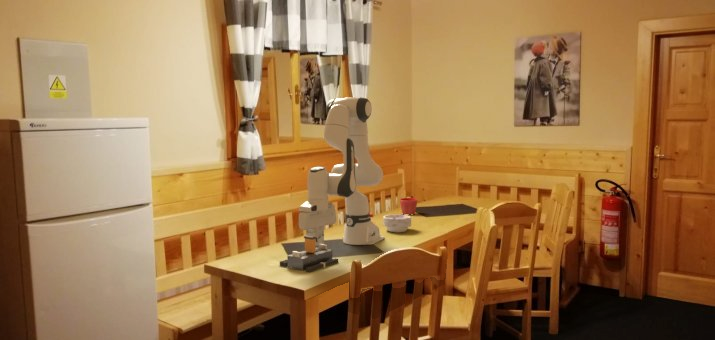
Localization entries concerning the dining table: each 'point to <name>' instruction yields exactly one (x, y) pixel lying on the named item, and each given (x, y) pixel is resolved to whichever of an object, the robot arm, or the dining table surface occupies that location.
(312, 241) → the orange upright block
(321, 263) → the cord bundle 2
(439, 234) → the dining table surface
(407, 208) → the flower pot
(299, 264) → the grey machine base
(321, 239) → the ink box
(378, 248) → the dining table surface
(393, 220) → the paper bowls
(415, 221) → the dining table surface
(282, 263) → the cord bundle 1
